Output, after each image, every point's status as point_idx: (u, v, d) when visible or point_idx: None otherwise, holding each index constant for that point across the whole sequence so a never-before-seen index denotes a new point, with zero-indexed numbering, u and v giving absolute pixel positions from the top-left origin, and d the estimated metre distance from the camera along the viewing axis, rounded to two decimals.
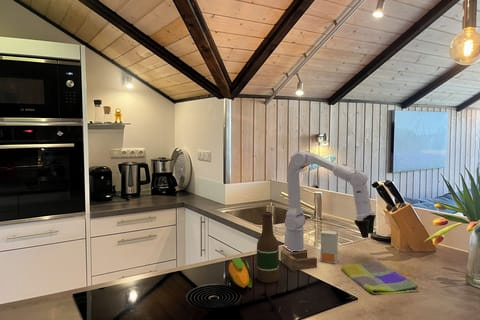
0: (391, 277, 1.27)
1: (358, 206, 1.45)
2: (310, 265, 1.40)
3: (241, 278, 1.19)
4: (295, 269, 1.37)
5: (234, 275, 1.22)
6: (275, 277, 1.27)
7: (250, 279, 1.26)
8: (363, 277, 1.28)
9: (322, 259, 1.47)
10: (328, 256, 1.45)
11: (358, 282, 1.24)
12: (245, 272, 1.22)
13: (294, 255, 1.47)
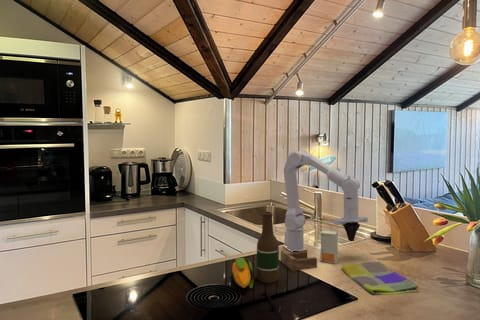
0: (391, 277, 1.27)
1: None
2: (310, 265, 1.40)
3: (241, 278, 1.18)
4: (295, 269, 1.37)
5: (235, 275, 1.23)
6: (275, 277, 1.27)
7: (252, 280, 1.25)
8: (363, 277, 1.28)
9: (322, 259, 1.47)
10: (328, 256, 1.45)
11: (358, 282, 1.24)
12: (246, 272, 1.22)
13: (294, 255, 1.47)
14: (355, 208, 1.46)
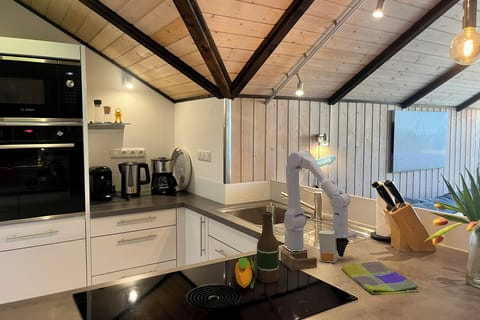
0: (391, 277, 1.27)
1: (333, 226, 1.48)
2: (310, 265, 1.40)
3: (241, 278, 1.18)
4: (295, 269, 1.37)
5: (236, 275, 1.23)
6: (275, 277, 1.27)
7: (254, 280, 1.25)
8: (363, 277, 1.28)
9: (322, 259, 1.47)
10: (327, 255, 1.45)
11: (358, 282, 1.24)
12: (247, 273, 1.22)
13: (294, 255, 1.47)
14: (344, 224, 1.45)
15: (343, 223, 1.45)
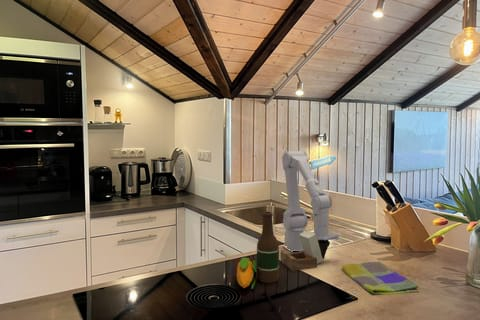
0: (391, 277, 1.27)
1: (314, 228, 1.46)
2: (310, 265, 1.40)
3: (242, 278, 1.18)
4: (295, 269, 1.37)
5: (237, 275, 1.23)
6: (275, 277, 1.27)
7: (255, 280, 1.25)
8: (363, 277, 1.28)
9: None
10: (309, 257, 1.45)
11: (358, 282, 1.24)
12: (248, 273, 1.21)
13: (294, 255, 1.47)
14: (325, 225, 1.43)
15: (321, 225, 1.43)
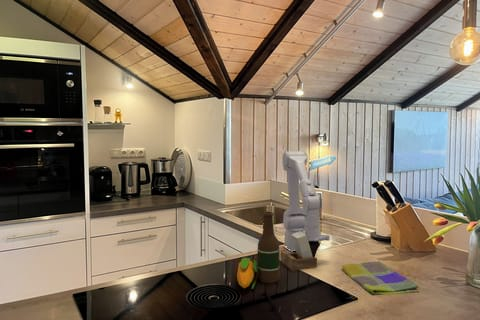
0: (391, 277, 1.27)
1: (304, 229, 1.45)
2: (310, 265, 1.40)
3: (242, 278, 1.18)
4: (295, 269, 1.37)
5: (237, 275, 1.23)
6: (276, 277, 1.27)
7: (255, 280, 1.25)
8: (363, 277, 1.28)
9: None
10: (300, 258, 1.44)
11: (358, 282, 1.24)
12: (248, 273, 1.21)
13: (294, 255, 1.47)
14: (315, 226, 1.42)
15: (309, 226, 1.42)
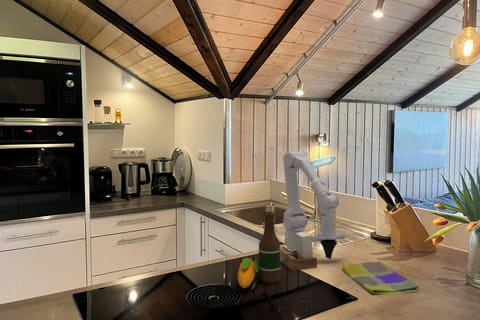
0: (392, 277, 1.27)
1: (321, 227, 1.47)
2: (310, 265, 1.40)
3: (242, 279, 1.18)
4: (295, 269, 1.37)
5: (238, 275, 1.23)
6: (278, 277, 1.27)
7: (256, 281, 1.24)
8: (363, 277, 1.28)
9: None
10: (300, 257, 1.44)
11: (358, 282, 1.24)
12: (248, 273, 1.21)
13: (294, 255, 1.47)
14: (332, 225, 1.44)
15: (329, 224, 1.44)
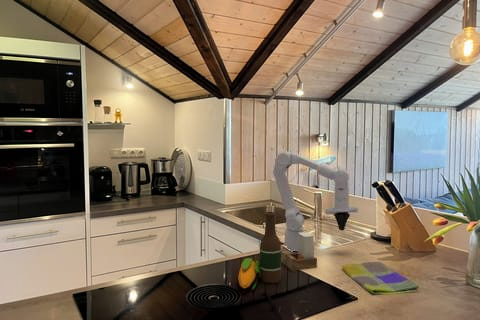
0: (392, 277, 1.27)
1: None
2: (310, 265, 1.40)
3: (242, 279, 1.18)
4: (295, 269, 1.37)
5: (238, 275, 1.22)
6: (279, 277, 1.27)
7: None
8: (364, 277, 1.28)
9: None
10: (301, 257, 1.44)
11: (358, 282, 1.24)
12: (249, 273, 1.21)
13: (294, 255, 1.47)
14: (345, 198, 1.52)
15: (346, 197, 1.53)
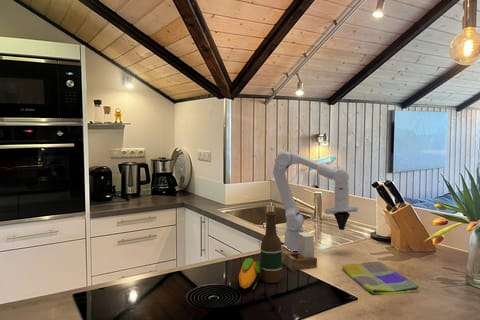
0: (392, 277, 1.27)
1: None
2: (310, 265, 1.40)
3: (242, 279, 1.18)
4: (295, 269, 1.37)
5: (239, 275, 1.22)
6: (280, 276, 1.27)
7: None
8: (364, 277, 1.28)
9: None
10: (301, 257, 1.44)
11: (358, 282, 1.24)
12: (249, 273, 1.21)
13: (294, 255, 1.47)
14: (345, 198, 1.53)
15: (346, 197, 1.53)
